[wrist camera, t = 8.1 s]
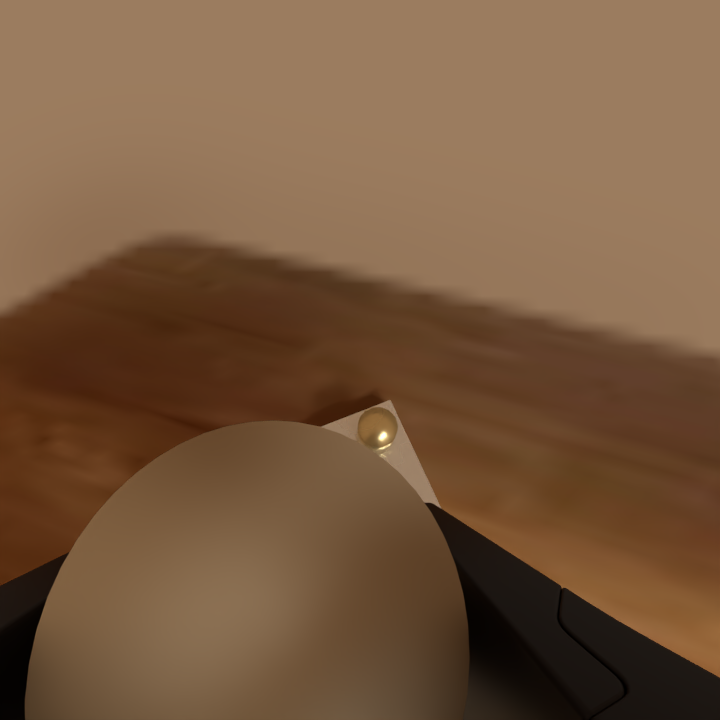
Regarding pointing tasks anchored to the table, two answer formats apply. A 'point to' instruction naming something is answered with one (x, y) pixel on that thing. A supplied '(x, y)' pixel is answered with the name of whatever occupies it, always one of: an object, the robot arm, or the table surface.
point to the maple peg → (256, 591)
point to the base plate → (396, 456)
